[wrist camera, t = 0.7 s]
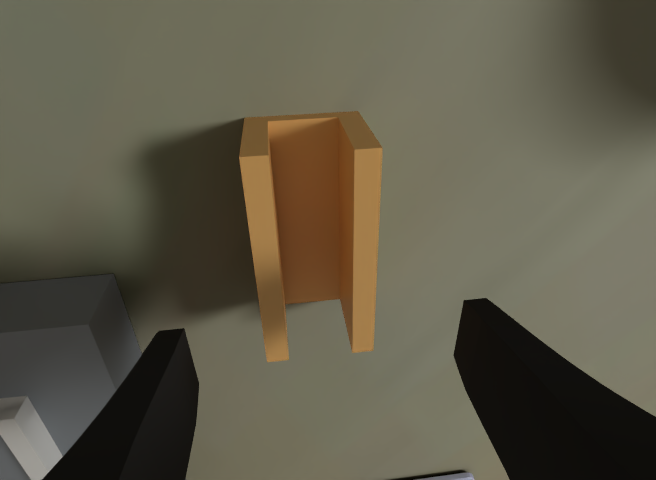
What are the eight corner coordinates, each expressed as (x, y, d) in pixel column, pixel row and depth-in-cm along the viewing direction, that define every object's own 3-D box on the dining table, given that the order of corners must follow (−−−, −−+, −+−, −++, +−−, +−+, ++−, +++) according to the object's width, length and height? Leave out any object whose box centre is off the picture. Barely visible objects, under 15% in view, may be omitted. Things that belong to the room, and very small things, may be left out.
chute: (354, 286, 20) (373, 350, 17) (266, 294, 20) (267, 362, 16) (356, 109, 16) (382, 147, 12) (244, 116, 15) (239, 157, 12)
